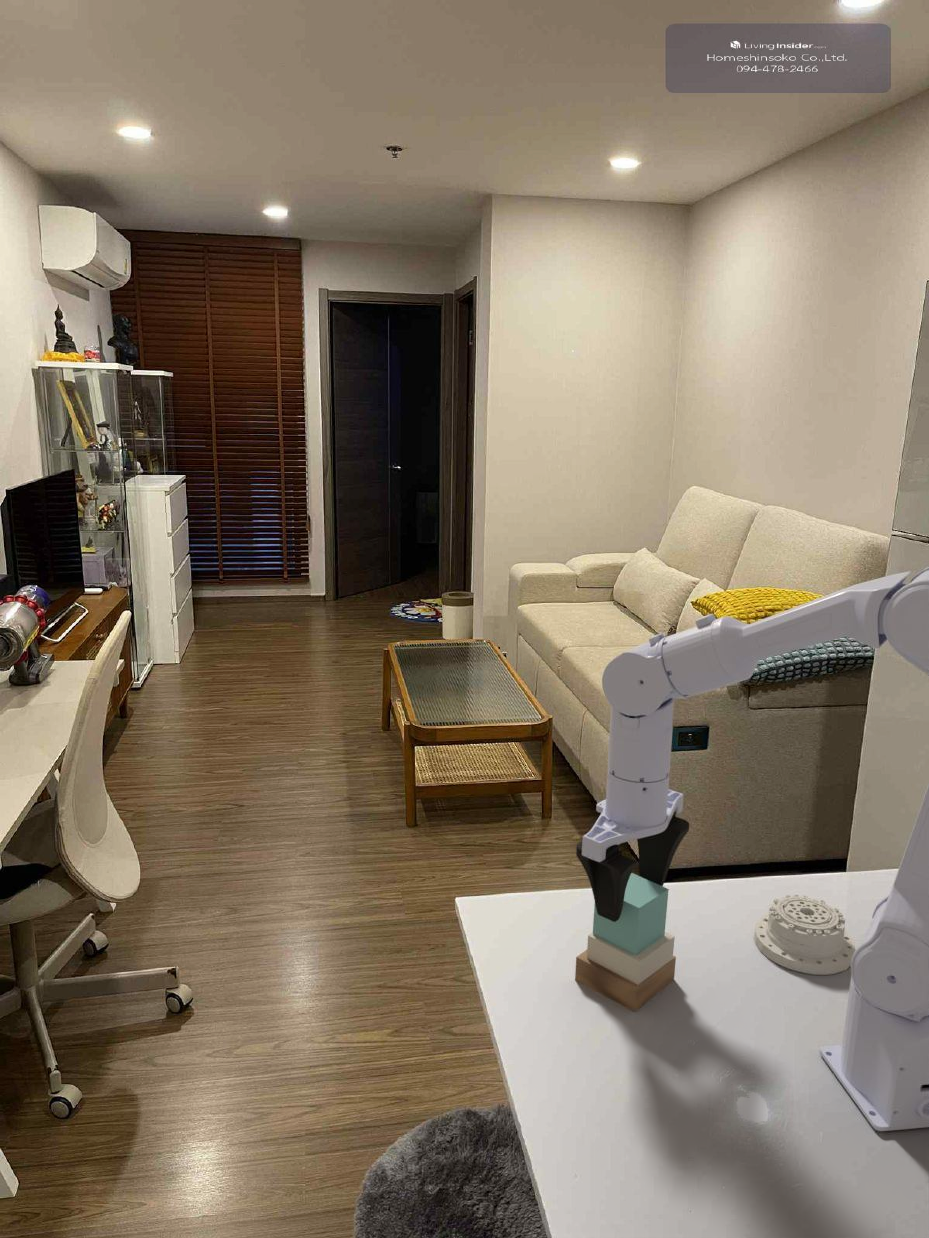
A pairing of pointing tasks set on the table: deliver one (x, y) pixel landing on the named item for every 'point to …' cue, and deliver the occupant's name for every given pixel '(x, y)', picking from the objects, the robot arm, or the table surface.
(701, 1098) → the table surface
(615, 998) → the slab base
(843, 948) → the mechanical component
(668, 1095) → the table surface
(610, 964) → the slab top
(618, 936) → the cube
